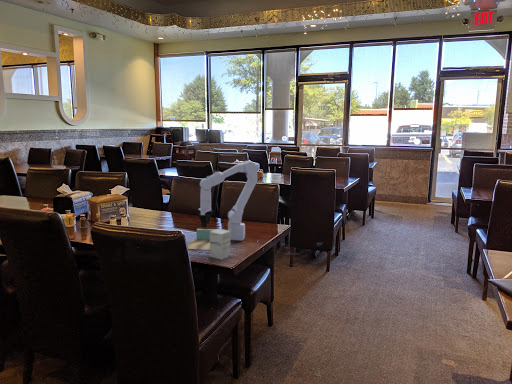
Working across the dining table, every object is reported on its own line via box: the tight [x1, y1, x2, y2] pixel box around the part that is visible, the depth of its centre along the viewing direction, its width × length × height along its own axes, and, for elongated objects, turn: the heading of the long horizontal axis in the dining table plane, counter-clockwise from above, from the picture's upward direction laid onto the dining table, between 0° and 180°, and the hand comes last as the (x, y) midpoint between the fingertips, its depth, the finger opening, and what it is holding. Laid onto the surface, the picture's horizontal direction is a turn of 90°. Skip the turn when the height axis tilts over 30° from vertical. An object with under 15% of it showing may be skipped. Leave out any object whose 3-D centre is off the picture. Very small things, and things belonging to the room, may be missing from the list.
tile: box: [196, 228, 214, 240], centre depth 205 cm, size 10×2×6 cm, turn 84°
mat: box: [187, 239, 210, 252], centre depth 196 cm, size 16×16×1 cm
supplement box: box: [209, 228, 231, 260], centre depth 178 cm, size 7×7×13 cm
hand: (205, 225), depth 204 cm, fingers open, 7 cm apart
